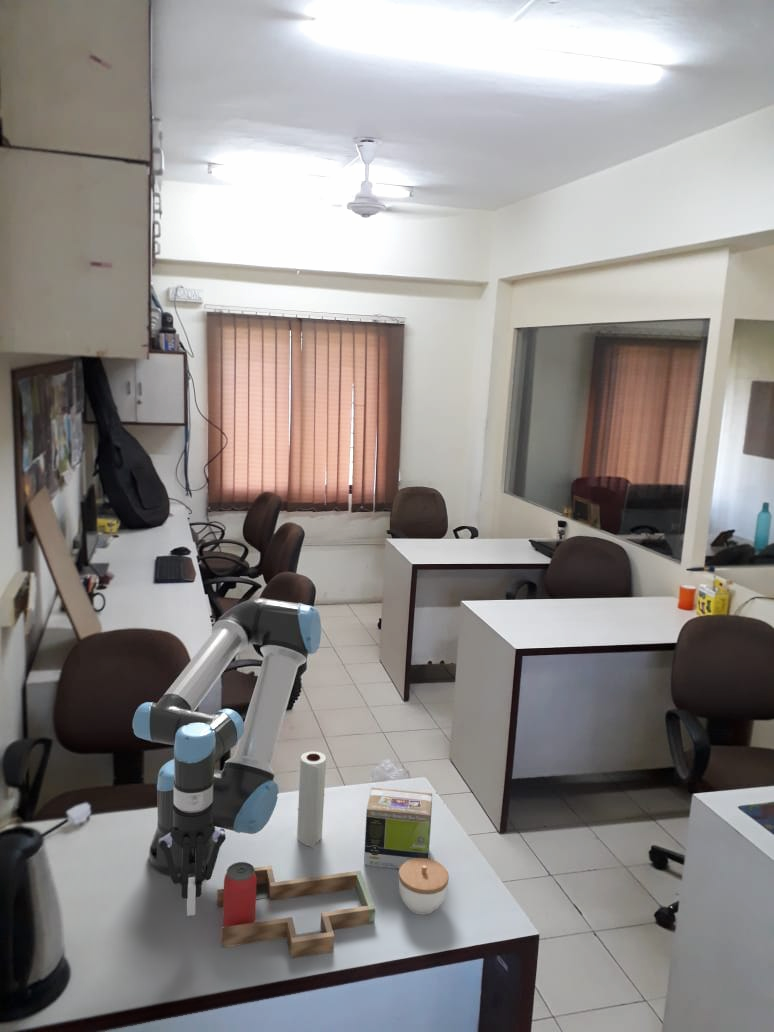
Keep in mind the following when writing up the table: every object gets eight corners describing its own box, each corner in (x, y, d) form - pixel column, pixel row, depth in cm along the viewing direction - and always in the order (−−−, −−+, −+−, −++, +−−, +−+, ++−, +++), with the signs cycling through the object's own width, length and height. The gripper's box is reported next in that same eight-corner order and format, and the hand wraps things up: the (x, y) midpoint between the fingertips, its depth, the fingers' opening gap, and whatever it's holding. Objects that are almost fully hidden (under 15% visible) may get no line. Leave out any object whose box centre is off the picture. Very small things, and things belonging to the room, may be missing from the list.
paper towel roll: (302, 827, 190) (306, 748, 186) (325, 832, 189) (329, 753, 184) (291, 844, 183) (294, 762, 179) (314, 849, 182) (319, 767, 178)
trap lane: (224, 969, 145) (224, 953, 144) (215, 886, 167) (215, 872, 166) (381, 943, 154) (383, 928, 153) (353, 868, 176) (354, 854, 175)
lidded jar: (439, 887, 172) (442, 849, 170) (451, 921, 161) (454, 881, 159) (392, 889, 170) (395, 852, 168) (401, 924, 159) (404, 884, 158)
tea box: (429, 847, 186) (433, 792, 183) (427, 874, 176) (432, 816, 173) (367, 840, 187) (371, 785, 184) (362, 866, 177) (366, 808, 174)
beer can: (261, 916, 159) (263, 865, 157) (245, 937, 153) (246, 884, 150) (233, 907, 161) (234, 856, 159) (216, 928, 155) (217, 875, 153)
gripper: (158, 817, 143) (156, 928, 148) (229, 810, 147) (225, 918, 151) (158, 796, 150) (156, 902, 155) (225, 789, 154) (222, 894, 158)
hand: (190, 910), depth 153 cm, fingers closed
